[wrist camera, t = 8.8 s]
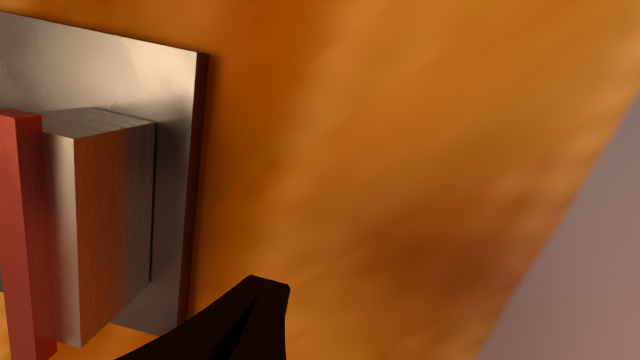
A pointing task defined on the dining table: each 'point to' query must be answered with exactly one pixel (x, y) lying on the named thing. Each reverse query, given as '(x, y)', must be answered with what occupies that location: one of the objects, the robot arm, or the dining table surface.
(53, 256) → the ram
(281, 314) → the robot arm
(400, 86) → the dining table surface
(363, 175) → the dining table surface
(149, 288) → the press
